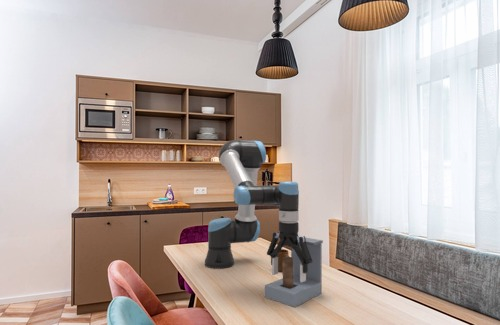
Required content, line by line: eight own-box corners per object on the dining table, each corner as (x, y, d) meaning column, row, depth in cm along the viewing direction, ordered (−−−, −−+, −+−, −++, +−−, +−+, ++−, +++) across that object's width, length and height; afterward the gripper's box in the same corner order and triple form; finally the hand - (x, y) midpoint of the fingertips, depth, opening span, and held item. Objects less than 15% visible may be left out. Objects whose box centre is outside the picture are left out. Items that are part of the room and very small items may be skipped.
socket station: (263, 296, 131) (263, 241, 131) (291, 284, 144) (291, 235, 145) (295, 307, 120) (295, 248, 121) (322, 293, 134) (322, 240, 135)
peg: (281, 297, 130) (280, 258, 130) (287, 294, 133) (286, 256, 133) (289, 300, 127) (288, 259, 127) (295, 297, 130) (295, 257, 130)
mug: (296, 274, 159) (296, 253, 160) (281, 275, 157) (281, 255, 157) (283, 267, 171) (283, 248, 171) (270, 268, 168) (270, 249, 168)
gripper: (258, 219, 136) (258, 273, 136) (310, 226, 119) (310, 287, 119) (270, 217, 142) (269, 269, 141) (321, 224, 125) (321, 282, 125)
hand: (288, 277), depth 130 cm, fingers open, 12 cm apart
